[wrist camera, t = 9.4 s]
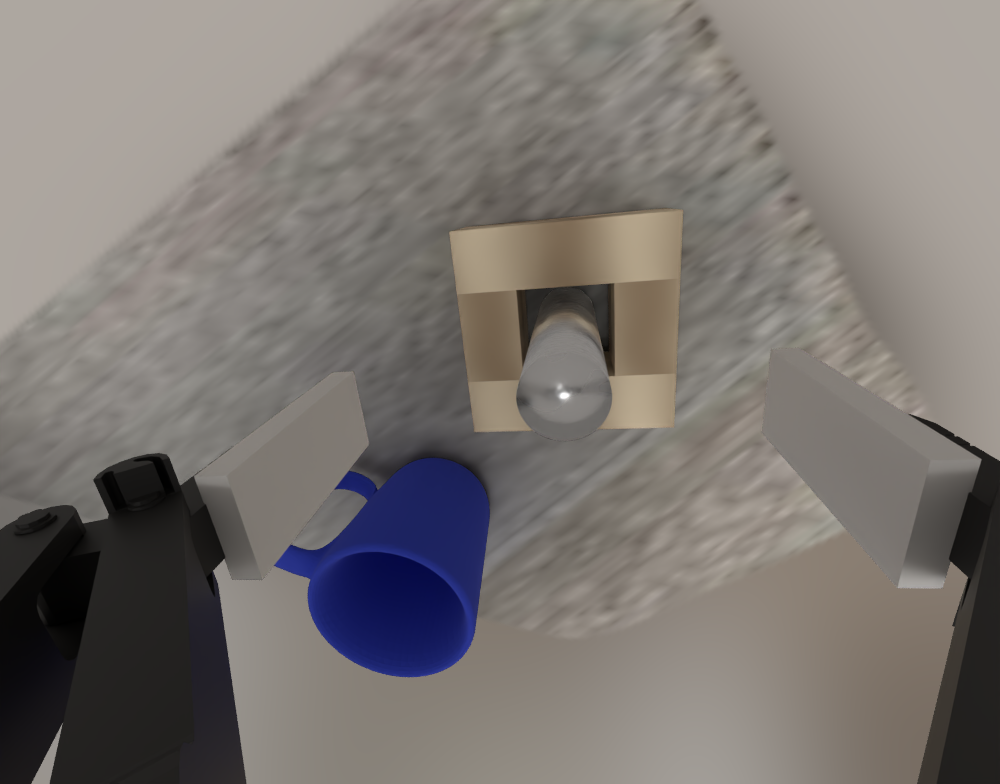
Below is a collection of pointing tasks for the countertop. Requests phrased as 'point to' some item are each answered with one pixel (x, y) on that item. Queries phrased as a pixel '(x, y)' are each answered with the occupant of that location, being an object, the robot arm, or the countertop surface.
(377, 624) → the mug
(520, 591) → the countertop surface
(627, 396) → the hole block
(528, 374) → the peg
